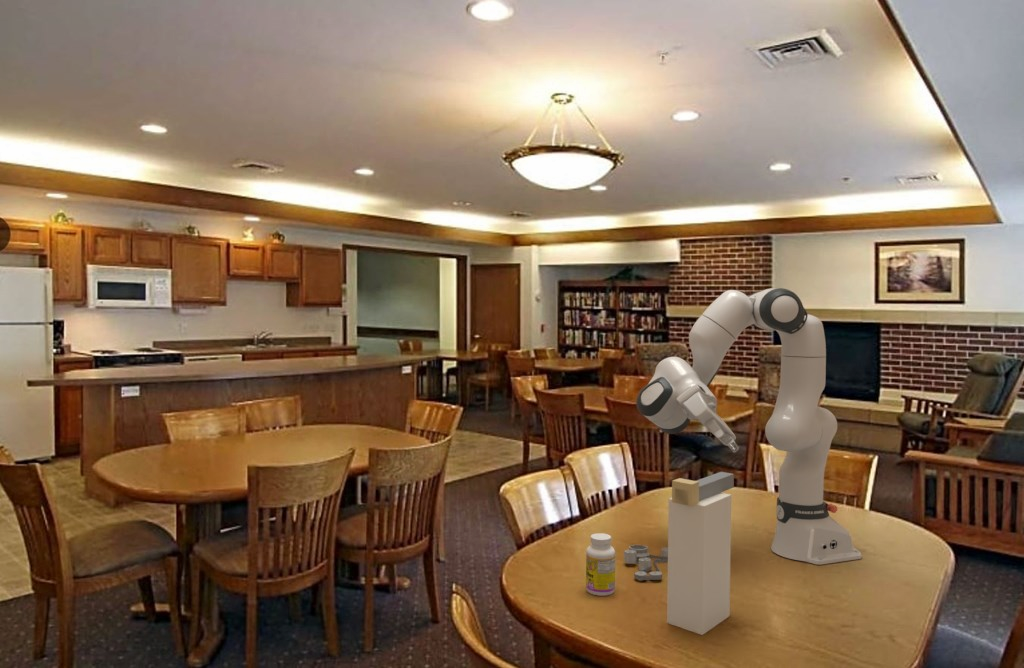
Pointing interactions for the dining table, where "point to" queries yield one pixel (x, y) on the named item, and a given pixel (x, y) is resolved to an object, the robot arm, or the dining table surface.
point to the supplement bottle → (600, 566)
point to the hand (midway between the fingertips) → (729, 443)
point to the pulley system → (645, 561)
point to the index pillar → (699, 563)
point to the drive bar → (700, 488)
